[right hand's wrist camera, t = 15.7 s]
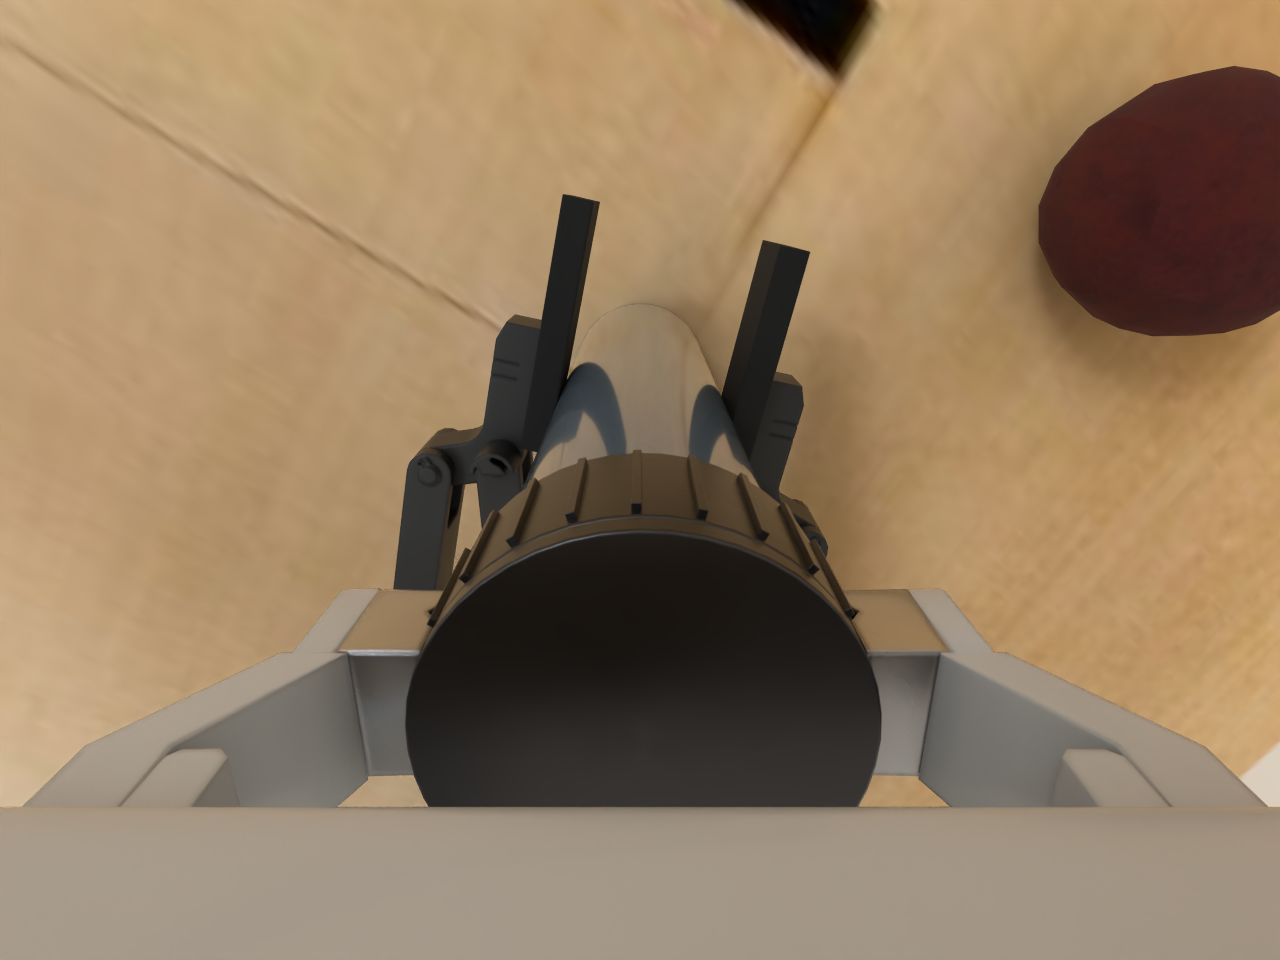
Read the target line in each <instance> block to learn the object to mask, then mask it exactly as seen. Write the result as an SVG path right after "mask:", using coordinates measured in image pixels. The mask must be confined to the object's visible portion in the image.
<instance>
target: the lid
mask: <svg viewBox="0 0 1280 960" xmlns="http://www.w3.org/2000/svg"><path fill="white" fill-rule="evenodd" d="M853 615H855V613H854V611H853V609H852V607H851V605H850V603H849V601H848V600H847V598H846V596H845V594H844V592H843V590H842V588H841V586H840V584H839V582H838V580H837V579H836V577H835V575H834V573H833V571H832V569H831V567H830V565H829V563H828V561H827V559H826V558H825V556H824V554H823V552H822V550H821V548H820V546H819V544H818V543H817V541H816V539H814V540H813V541H811V542H810V541H809V539H808V538H807V536H806V535H805V533H804V532H803V530H802V529H801V528H800V526H799V525H798V523H797V522H796V520H795V518H794V516H793V514H792V512H791V510H790V508H789V506H788V505H787V504H786V503H785V502H782V503H781V504H779V503H778V502H777V501H775V500H774V499H773V498H772V497H770V496H769V495H768V494H767V493H766V492H764V491H763V490H762V489H760V488H759V487H757V486H755V485H754V484H752V483H750V482H749V479H748V477H747V475H745V474H743V473H741V472H740V473H739V475H736V474H734V473H732V472H730V471H727V470H725V469H723V468H721V467H718V466H716V465H713V464H709V463H706V462H702V461H699V460H697V456H694V455H690V454H689V455H688V458H687V457H681V456H675V455H669V454H657V453H641V450H633V453H629V454H618V455H609V456H604V457H600V458H595V459H590V460H587V459H586V457H584V458H580V459H578V462H577V464H574V465H571V466H568V467H565V468H563V469H560V470H558V471H556V472H554V473H552V474H550V475H548V476H546V477H544V478H542V479H540V480H537V479H536V478H534V479H532V480H530V481H529V483H528V485H527V488H526V489H525V490H523V491H522V492H520V493H519V494H517V495H516V496H515V497H514V498H513V499H512V500H510V501H509V502H508V503H507V504H506V505H505V506H504V507H503V508H502V509H501V510H500V511H497V510H495V509H494V510H493V511H492V512H491V513H490V514H489V516H488V518H487V520H486V522H485V524H484V526H483V528H482V530H481V532H480V535H479V537H478V539H477V541H476V542H475V544H474V546H473V547H472V549H471V550H469V549H467V548H465V550H464V551H463V553H462V555H461V557H460V559H459V561H458V563H457V565H456V567H455V569H454V571H453V573H452V575H451V577H450V579H449V581H448V583H447V585H446V587H445V589H444V591H443V593H442V595H441V597H440V598H439V600H438V602H437V604H436V606H435V608H434V610H433V612H432V614H431V616H430V618H429V620H428V622H427V625H428V626H430V627H433V628H432V631H431V633H430V634H429V636H428V639H427V641H426V643H425V645H424V647H423V649H422V651H421V654H420V656H419V659H418V661H417V663H416V666H415V668H414V671H413V673H412V677H411V682H410V686H409V690H408V694H407V699H406V714H405V731H406V742H407V751H408V755H409V759H410V763H411V766H412V770H413V774H414V777H415V779H416V782H417V784H418V786H419V789H420V791H421V793H422V796H423V798H424V800H425V801H426V803H427V805H428V806H429V807H858V806H859V804H860V802H861V800H862V798H863V796H864V795H865V793H866V791H867V789H868V786H869V783H870V781H871V778H872V775H873V772H874V770H875V767H876V763H877V758H878V752H879V747H880V742H881V725H882V711H881V703H880V696H879V688H878V685H877V681H876V678H875V675H874V672H873V668H872V665H871V662H870V659H871V658H868V656H867V654H866V652H865V650H864V648H863V646H862V644H861V642H860V640H859V638H858V636H857V634H856V632H855V630H854V628H853V626H852V624H851V621H852V620H853V619H852V617H851V616H853Z"/></svg>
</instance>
